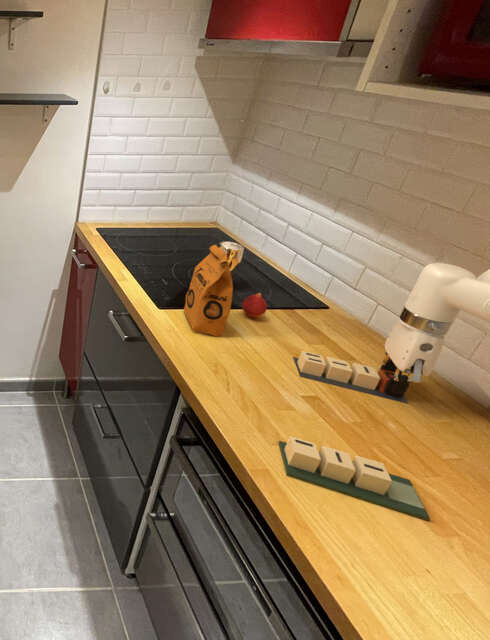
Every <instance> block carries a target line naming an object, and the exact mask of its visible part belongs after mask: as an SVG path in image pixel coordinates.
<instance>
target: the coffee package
mask: <svg viewBox="0 0 490 640" xmlns="http://www.w3.org/2000/svg"><path fill="white" fill-rule="evenodd" d="M209 251H210V252H209V254H208V255H206V256H205V257H204V258H203V259H202V260H201V261H200V262H199V263H198V264H197V265H196V266H195V267H194V270H193V273H192V277H191V281H190V283H189V288H188V291H187V292H186V295H185V304H184V308H183V311H184V314H185V316H186V317H185V318H186V319H187V321H188V323H189V325H190V326H191V329H192V330H193V332H194V333H197V334H198V333H199V334H200V333H201V334H204V335H211V336H214V337H222V336H223V332H224V329H225V327H226V323H227V320H228V318H229V316H230V313H231V308H232V302H233V291H234V284H233V278H231V273H230V269H229V263H228V258H227V254H226V253H225V252H223V251H222V250H221V249H220V248H219V245H217V244H214V245H211V246H210V247H209Z"/></svg>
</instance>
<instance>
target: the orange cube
mask: <svg viewBox="0 0 490 640" xmlns="http://www.w3.org/2000/svg"><path fill="white" fill-rule="evenodd" d="M377 373H378V375H379V377H380V380H379V382H378V384H377V387H378V389H379V391H380V392H384V389H385V387H386V385H387V383H388V381H389V379H390V378H393V377H394V374H395V372H391V371H387V370H383V369H380V368H379V369H378V371H377ZM401 375H403V373H402V374H401ZM409 387H410V385H409V386H408V388H409ZM384 393H385V392H384ZM405 394H406V392H405V393H404V395H403V396H404V397H405ZM403 396H402V397H403Z"/></svg>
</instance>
